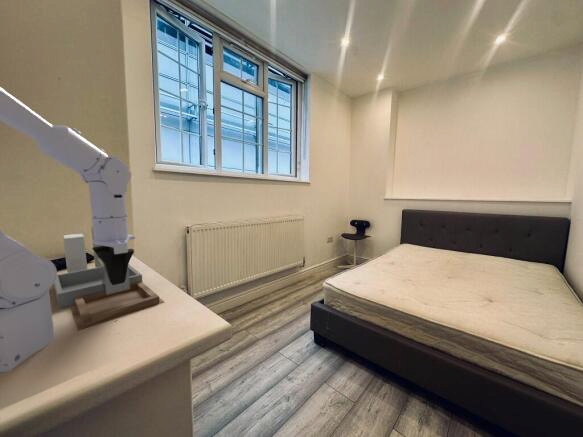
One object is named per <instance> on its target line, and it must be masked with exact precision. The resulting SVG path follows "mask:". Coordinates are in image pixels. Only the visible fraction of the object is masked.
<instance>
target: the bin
mask: <svg viewBox="0 0 583 437" xmlns="http://www.w3.org/2000/svg"><path fill="white" fill-rule="evenodd" d="M128 269H129V282H130V284H134V283H138V282H143V274H141V272H139V271H138V270H136V269H135V268H134V267H133V266H131V265H130V264H128ZM53 286H54V287H53V288H54V292H55V296H56V301H57V306H58V309H62V308H67V307H70V305H73V304H75V298H77V297H81V296H85V295H89V294H93V293H97V292H101V291H103V288H102V278H101V267H93V268H87V269H86V270H80V271H75V272H70V273H68V272H66V273H61V274H60V273H59V274H57V277H56V280H55V282H54V284H53Z"/></svg>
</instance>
